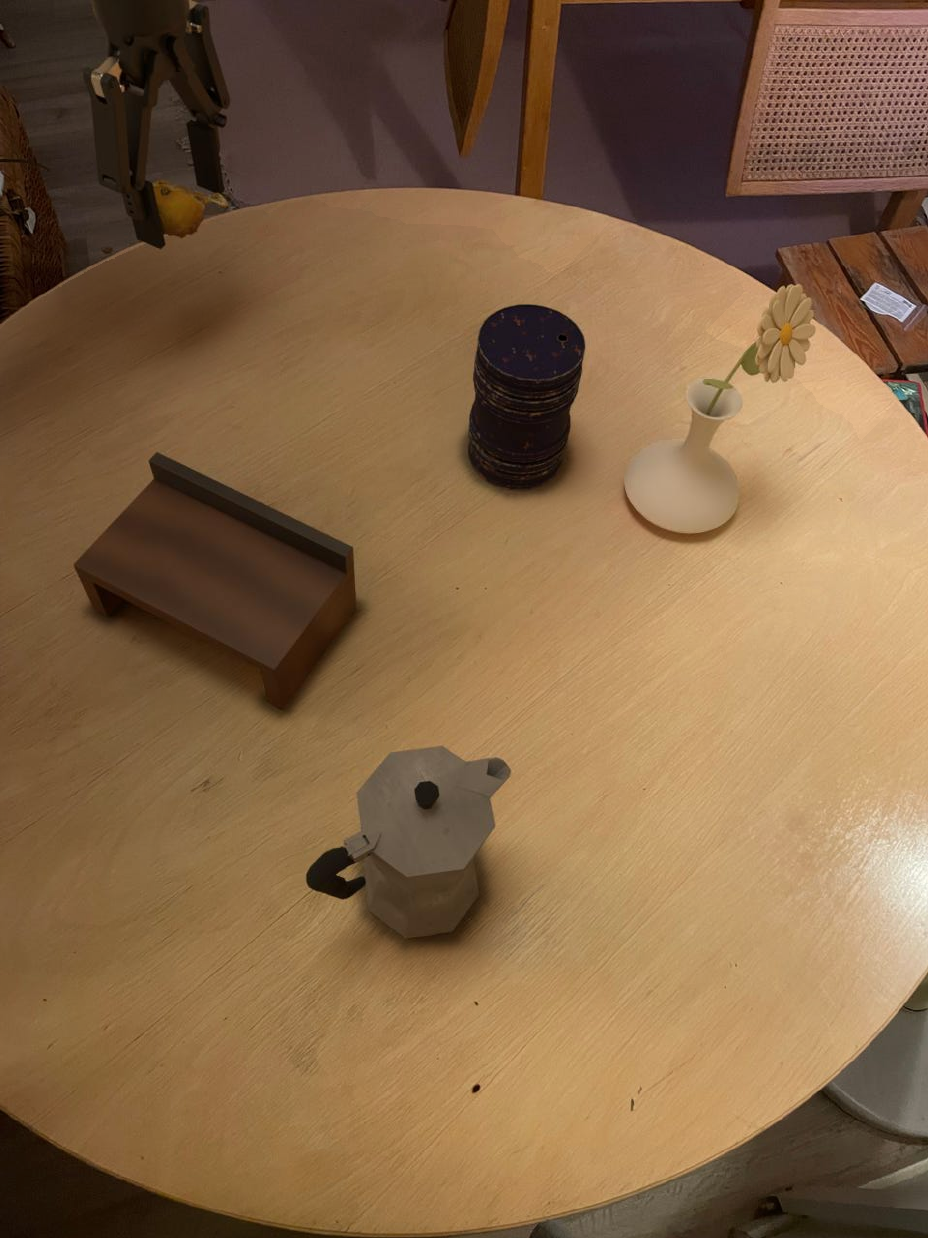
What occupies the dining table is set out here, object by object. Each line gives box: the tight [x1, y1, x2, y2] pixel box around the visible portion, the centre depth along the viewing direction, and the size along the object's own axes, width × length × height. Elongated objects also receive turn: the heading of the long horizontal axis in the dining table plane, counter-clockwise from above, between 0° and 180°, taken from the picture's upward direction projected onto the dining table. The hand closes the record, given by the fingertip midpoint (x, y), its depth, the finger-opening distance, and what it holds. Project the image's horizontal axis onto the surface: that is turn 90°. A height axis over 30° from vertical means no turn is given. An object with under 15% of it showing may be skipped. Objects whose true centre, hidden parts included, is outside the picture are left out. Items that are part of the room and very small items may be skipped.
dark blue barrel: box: [467, 303, 586, 491], centre depth 99 cm, size 10×10×15 cm
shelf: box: [73, 451, 357, 711], centre depth 89 cm, size 12×20×9 cm, turn 62°
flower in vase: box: [623, 283, 816, 534], centre depth 93 cm, size 13×11×25 cm
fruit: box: [152, 179, 228, 239], centre depth 98 cm, size 8×8×4 cm
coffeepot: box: [305, 745, 512, 939], centre depth 73 cm, size 15×9×18 cm, turn 122°
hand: (181, 214), depth 99 cm, fingers closed on fruit, 9 cm apart
